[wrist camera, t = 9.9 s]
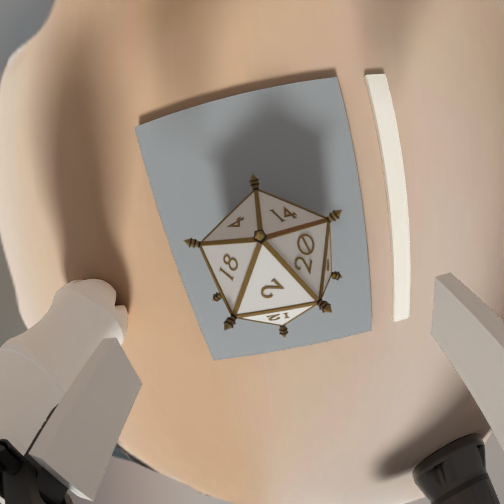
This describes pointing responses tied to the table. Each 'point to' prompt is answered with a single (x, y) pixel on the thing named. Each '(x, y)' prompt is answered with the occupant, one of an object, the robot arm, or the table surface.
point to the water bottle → (54, 356)
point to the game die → (269, 259)
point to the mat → (271, 181)
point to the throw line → (393, 191)
